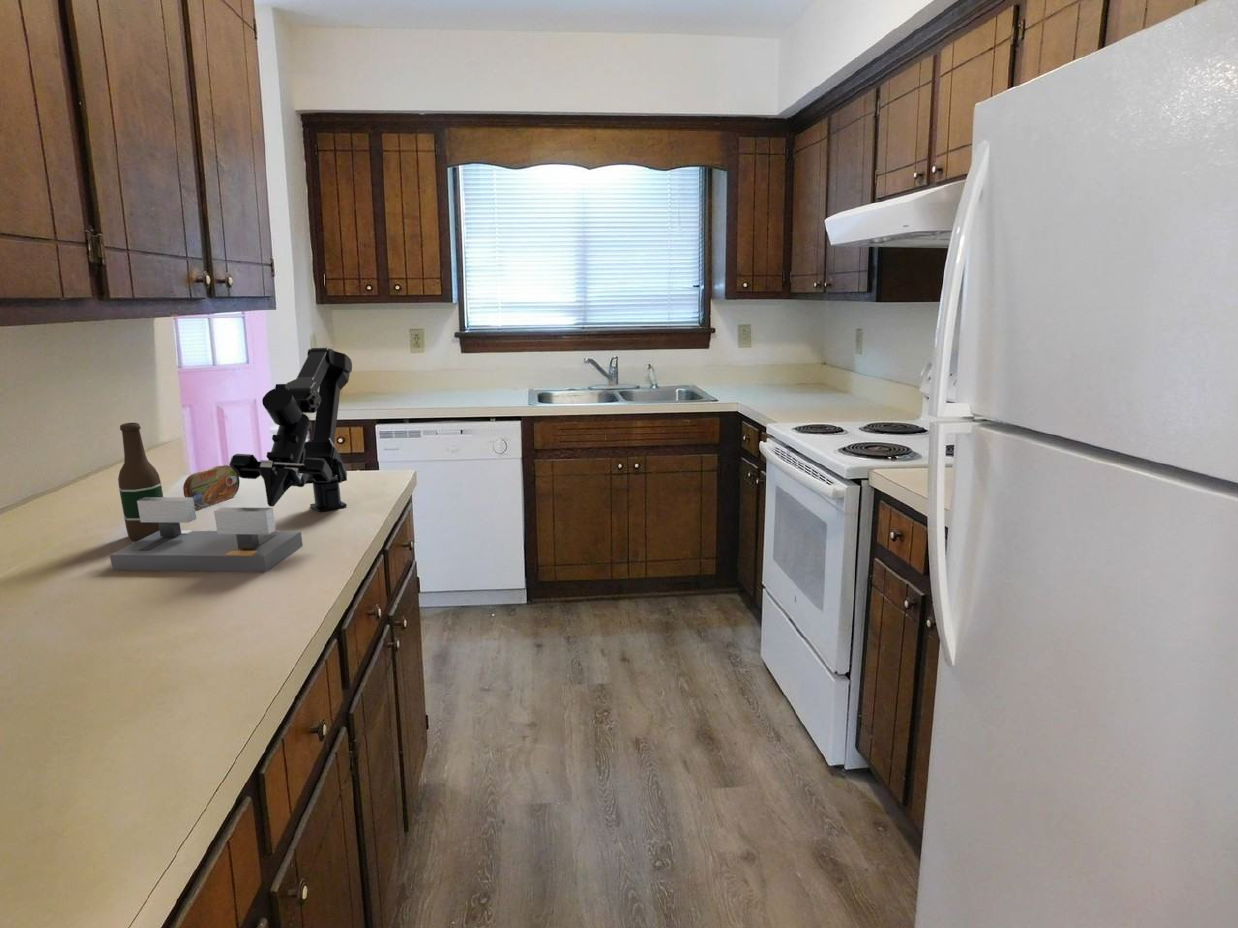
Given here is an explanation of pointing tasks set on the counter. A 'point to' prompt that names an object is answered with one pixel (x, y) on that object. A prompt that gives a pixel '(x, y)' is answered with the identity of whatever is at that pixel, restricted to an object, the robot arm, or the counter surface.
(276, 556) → the switch panel
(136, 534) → the beer bottle
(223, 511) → the switch
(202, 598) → the counter surface
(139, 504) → the switch
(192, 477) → the tin
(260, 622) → the counter surface
